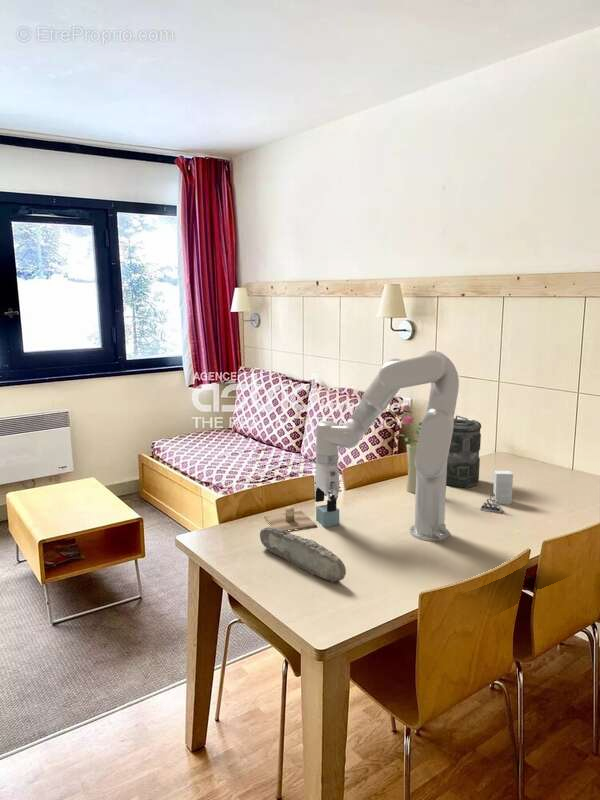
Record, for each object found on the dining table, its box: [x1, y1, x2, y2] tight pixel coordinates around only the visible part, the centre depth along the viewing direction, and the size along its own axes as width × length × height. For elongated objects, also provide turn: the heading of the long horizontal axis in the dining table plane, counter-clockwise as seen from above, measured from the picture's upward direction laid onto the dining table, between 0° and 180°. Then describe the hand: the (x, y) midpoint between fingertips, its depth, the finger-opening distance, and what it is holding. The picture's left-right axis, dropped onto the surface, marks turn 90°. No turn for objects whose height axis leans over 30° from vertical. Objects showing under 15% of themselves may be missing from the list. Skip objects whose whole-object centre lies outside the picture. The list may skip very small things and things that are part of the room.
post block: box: [263, 506, 318, 531], centre depth 200 cm, size 14×14×6 cm
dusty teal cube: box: [315, 504, 340, 528], centre depth 200 cm, size 6×6×6 cm
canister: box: [446, 414, 482, 489], centre depth 241 cm, size 16×16×28 cm
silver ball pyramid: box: [480, 491, 503, 514], centre depth 212 cm, size 9×9×8 cm
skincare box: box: [492, 470, 514, 505], centre depth 218 cm, size 6×4×12 cm
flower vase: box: [393, 404, 422, 494], centre depth 228 cm, size 12×12×35 cm
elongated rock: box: [259, 526, 347, 584], centre depth 168 cm, size 35×5×10 cm, turn 45°
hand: (325, 506), depth 200 cm, fingers open, 9 cm apart
